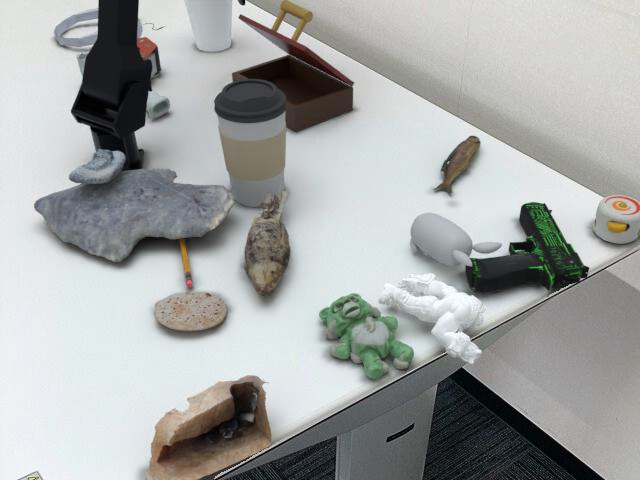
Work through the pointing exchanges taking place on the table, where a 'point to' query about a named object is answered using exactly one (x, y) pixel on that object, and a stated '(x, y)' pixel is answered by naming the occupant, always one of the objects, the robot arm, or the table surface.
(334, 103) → the hinged lid box
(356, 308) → the stuffed animal
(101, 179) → the fossil
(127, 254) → the flat rock
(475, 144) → the fish
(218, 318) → the flatbread
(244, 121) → the coffee cup
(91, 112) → the robot arm
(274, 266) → the bird model
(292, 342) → the table surface
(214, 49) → the foam cup
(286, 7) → the cover
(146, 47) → the tape dispenser
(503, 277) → the handgun
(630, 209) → the roller toy
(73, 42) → the headphones
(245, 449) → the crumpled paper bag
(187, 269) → the pencil
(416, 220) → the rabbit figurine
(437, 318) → the figurine
